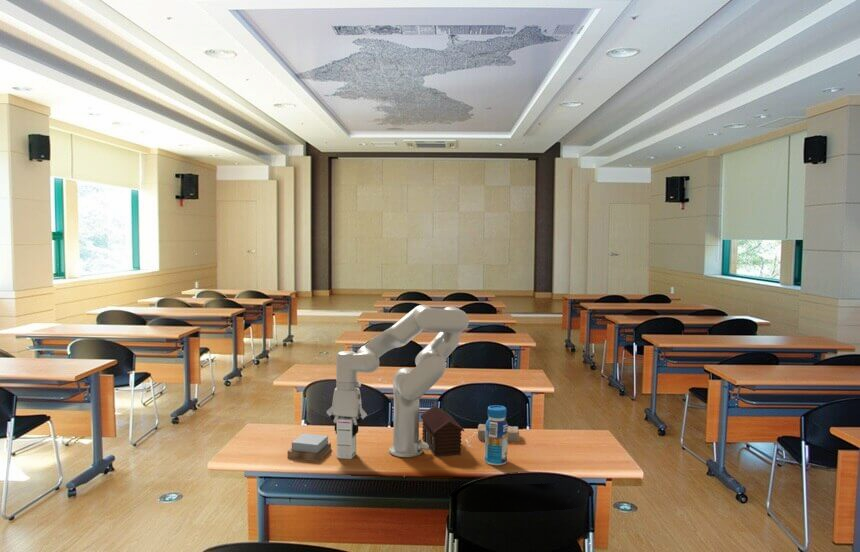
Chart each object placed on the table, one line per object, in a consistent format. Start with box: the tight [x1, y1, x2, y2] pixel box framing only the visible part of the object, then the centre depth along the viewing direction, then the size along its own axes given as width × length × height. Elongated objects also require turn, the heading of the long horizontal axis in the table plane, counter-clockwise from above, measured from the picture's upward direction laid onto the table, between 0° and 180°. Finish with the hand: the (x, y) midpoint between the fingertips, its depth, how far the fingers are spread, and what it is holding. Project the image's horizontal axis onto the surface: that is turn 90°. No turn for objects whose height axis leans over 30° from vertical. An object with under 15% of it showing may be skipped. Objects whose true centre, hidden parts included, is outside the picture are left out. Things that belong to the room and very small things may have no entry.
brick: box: [477, 423, 520, 443], centre depth 248 cm, size 17×8×5 cm, turn 85°
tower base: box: [287, 442, 332, 462], centre depth 228 cm, size 12×12×3 cm
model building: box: [420, 401, 465, 457], centre depth 237 cm, size 21×12×15 cm, turn 15°
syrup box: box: [336, 416, 357, 460], centre depth 225 cm, size 6×6×14 cm
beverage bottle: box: [484, 404, 509, 466], centre depth 222 cm, size 8×8×20 cm
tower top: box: [291, 432, 329, 453], centre depth 227 cm, size 10×10×3 cm
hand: (346, 433), depth 225 cm, fingers closed on syrup box, 5 cm apart
